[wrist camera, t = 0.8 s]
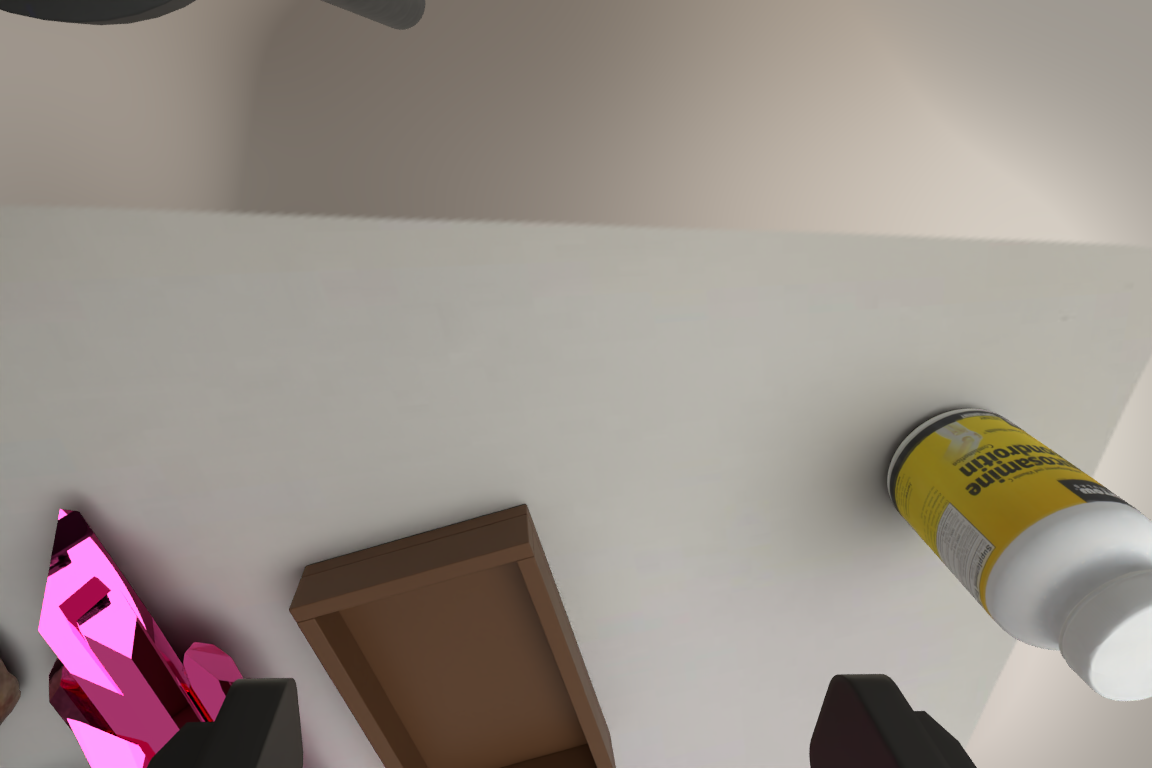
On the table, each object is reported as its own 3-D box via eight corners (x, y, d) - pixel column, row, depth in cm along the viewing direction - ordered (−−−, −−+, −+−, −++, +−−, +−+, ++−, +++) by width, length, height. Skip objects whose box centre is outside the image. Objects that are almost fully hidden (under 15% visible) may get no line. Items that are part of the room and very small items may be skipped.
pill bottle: (1035, 415, 32) (1301, 587, 21) (970, 526, 34) (1179, 728, 24) (917, 390, 30) (1138, 560, 20) (858, 507, 33) (1026, 712, 22)
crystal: (186, 976, 34) (-139, 613, 23) (219, 862, 39) (-35, 517, 28) (351, 925, 34) (111, 548, 23) (362, 819, 39) (169, 466, 28)
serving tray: (305, 565, 31) (288, 610, 28) (526, 503, 31) (529, 542, 28) (430, 783, 38) (425, 833, 36) (610, 733, 38) (618, 781, 35)
